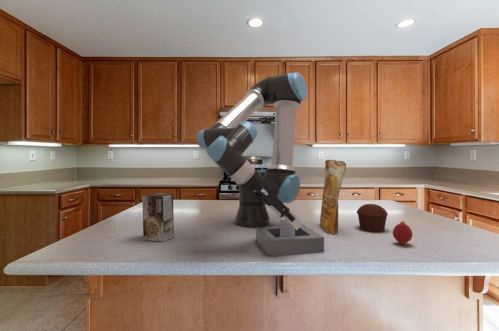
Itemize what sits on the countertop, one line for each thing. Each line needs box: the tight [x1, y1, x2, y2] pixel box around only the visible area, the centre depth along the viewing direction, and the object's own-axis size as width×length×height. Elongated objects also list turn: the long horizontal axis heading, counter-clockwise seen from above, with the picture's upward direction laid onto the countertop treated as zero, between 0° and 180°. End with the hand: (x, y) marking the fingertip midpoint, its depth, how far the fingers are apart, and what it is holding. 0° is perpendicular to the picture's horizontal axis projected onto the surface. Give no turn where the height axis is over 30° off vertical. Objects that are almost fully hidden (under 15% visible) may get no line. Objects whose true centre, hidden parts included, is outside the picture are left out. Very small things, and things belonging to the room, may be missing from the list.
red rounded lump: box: [392, 220, 413, 245], centre depth 93 cm, size 6×6×8 cm
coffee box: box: [141, 192, 175, 243], centre depth 100 cm, size 9×6×16 cm
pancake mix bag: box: [319, 159, 347, 235], centre depth 112 cm, size 7×19×28 cm, turn 179°
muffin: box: [356, 203, 389, 233], centre depth 112 cm, size 12×11×10 cm
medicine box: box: [279, 217, 295, 237], centre depth 92 cm, size 8×4×9 cm, turn 169°
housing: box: [255, 224, 325, 257], centre depth 92 cm, size 16×18×4 cm
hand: (291, 221), depth 92 cm, fingers open, 13 cm apart
